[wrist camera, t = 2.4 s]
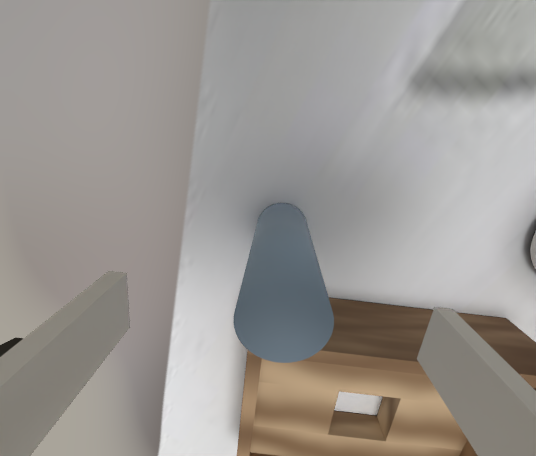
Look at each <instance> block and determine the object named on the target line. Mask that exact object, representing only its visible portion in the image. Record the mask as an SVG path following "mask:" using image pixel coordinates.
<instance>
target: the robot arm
mask: <svg viewBox="0 0 536 456" xmlns="http://www.w3.org/2000/svg"><path fill="white" fill-rule="evenodd" d="M129 328H130V319H129V302H128V286H127V273H123V272H114V271H108V272H107V273H106V274H104V275H103V276H102V277H101V278H99V279H98V280H97V281H95V282H94V283H93V284H92V285H91V286H89V287H88V288H87V289H85V290H84V291H83V292H82V293H80V294H79V295H78V296H77V297H75V298H74V299H73V300H72V301H70V302H69V303H68V304H67V305H65V306H64V307H63V308H61V309H60V310H59V311H58V312H56V313H55V314H54V315H53V316H51V317H50V318H49V319H48V320H46V321H45V322H44V323H43V324H41V325H40V326H39V327H38V328H36V329H35V330H34V331H32V332H31V333H30V334H29V335H28V336H26V337H25V338H24V339H23V338H14V339H12V340H10V341H8V342H6V343H4V344H2V345H0V456H30V455H31V454H32V453H33V452H34V450H35V449H36V448H37V447H38V445H39V444H40V442H41V441H42V440H43V439H44V437H45V436H46V435H47V434H48V432H49V431H50V430H51V428H52V427H53V426H54V425H55V423H56V422H57V421H58V419H59V418H60V417H61V416H62V414H63V413H64V412H65V410H66V409H67V408H68V406H69V405H70V404H71V402H72V401H73V400H74V399H75V397H76V396H77V395H78V394H79V392H80V391H81V390H82V388H83V387H84V386H85V384H86V383H87V382H88V381H89V379H90V378H91V377H92V376H93V374H94V373H95V372H96V370H97V369H98V368H99V367H100V365H101V364H102V363H103V361H104V360H105V358H106V357H107V356H108V355H109V354H110V352H111V351H112V350H113V348H114V347H115V346H116V345H117V343H118V342H119V341H120V339H121V338H122V337H123V336H124V334H125V333H126V332H127V330H128V329H129ZM417 360H418V362H419V363H420V365H421V366H422V368H423V370H424V371H425V373H426V374H427V376H428V377H429V379H430V381H431V382H432V384H433V385H434V387H435V389H436V390H437V392H438V393H439V395H440V397H441V398H442V400H443V401H444V403H445V404H446V406H447V408H448V409H449V411H450V412H451V414H452V416H453V417H454V419H455V420H456V422H457V424H458V425H459V427H460V428H461V430H462V431H463V433H464V435H465V436H466V438H467V439H468V441H469V443H470V444H471V446H472V447H473V449H474V451H475V452H476V454H477V455H478V456H536V391H535V390H534V389H533V388H532V387H531V386H530V385H529V384H528V383H527V382H526V381H525V380H524V379H523V378H522V377H521V376H520V375H519V374H518V373H517V372H516V371H515V370H514V369H513V368H512V367H511V366H510V365H509V364H508V363H507V362H506V361H505V360H504V359H503V358H502V357H501V356H500V355H499V354H498V353H497V352H496V351H495V350H494V349H493V348H492V347H491V346H490V345H489V344H488V343H487V342H486V341H484V340H483V339H482V338H481V337H480V336H479V335H478V334H477V333H476V332H475V331H474V330H473V329H472V328H471V327H470V326H469V325H468V324H467V323H466V322H465V321H464V320H463V319H462V318H461V317H460V316H459V315H458V314H457V313H456V312H455V311H454V310H453V309H447V308H438V307H434V310H433V313H432V316H431V319H430V322H429V325H428V328H427V330H426V333H425V336H424V339H423V342H422V345H421V348H420V351H419V354H418V357H417Z"/></svg>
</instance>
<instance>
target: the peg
mask: <svg viewBox="0 0 536 456" xmlns="http://www.w3.org/2000/svg"><path fill="white" fill-rule="evenodd" d="M333 327H334V316H333V311H332V308H331V304H330V301H329V297H328V294H327V291H326V287H325V284H324V280H323V277H322V274H321V270H320V267H319V263H318V260H317V257H316V253H315V250H314V246H313V243H312V239H311V236H310V233H309V229H308V226H307V222H306V219H305V217H304V215H303V213H302V212H301V211H300V210H299V209H298V208H297V207H295V206H293V205H291V204H287V203H277V204H273V205H271V206H269V207H267V208H266V209H265V210H264V211H263V212H262V213H261V215H260V217H259V219H258V223H257V226H256V230H255V234H254V238H253V242H252V246H251V250H250V254H249V258H248V262H247V266H246V269H245V273H244V277H243V281H242V285H241V289H240V293H239V297H238V301H237V305H236V309H235V313H234V328H235V331H236V334H237V336H238V338H239V340H240V341H241V343H242V344H243V345H244V346H245V348H247V349H248V350H249V351H250V352H251V353H253V354H254V355H256V356H258V357H260V358H262V359H265V360H268V361H272V362H278V363H291V362H297V361H301V360H304V359H307V358H309V357H311V356H313V355H314V354H316V353H317V352H319V351H320V350H321V349H322V348H323V347H324V346H325V345H326V344H327V342H328V341H329V339H330V337H331V335H332V332H333Z"/></svg>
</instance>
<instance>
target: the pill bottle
mask: <svg viewBox="0 0 536 456" xmlns="http://www.w3.org/2000/svg"><path fill="white" fill-rule="evenodd" d="M530 252H531V259H532V263H533V265H534V267H535V269H536V232H535V234H534V237H533V239H532V243H531V248H530Z"/></svg>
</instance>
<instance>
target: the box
mask: <svg viewBox="0 0 536 456" xmlns="http://www.w3.org/2000/svg"><path fill="white" fill-rule="evenodd" d="M329 301H330V304H331V308H332V311H333V316H334V327H333V332H332V335H331V337H330V339H329V341H328V342H327V344H326V345H325V346H324V347H323V348H322V349H321V350H320V351H319V352H317V353H316V354H314V355H313V356H311V357H309V358H307V359H304V360H301V361H297V362H291V363H278V362H272V361H268V360H265V359H262V358H260V357H258V356H256V355H254V354H253V353H251V352H250V351H249V350H248V352H247V362H246V371H245V381H244V391H243V400H242V410H241V420H240V430H239V439H238V449H237V456H478V455H477V454H476V452H475V451H474V449H473V447H472V446H471V444H470V443H469V441H468V439H467V438H466V436H465V435H464V433H463V431H462V430H461V428H460V427H459V425H458V424H457V422H456V420H455V419H454V417H453V416H452V414H451V412H450V411H449V409H448V408H447V406H446V404H445V403H444V401H443V400H442V398H441V397H440V395H439V393H438V392H437V390H436V389H435V387H434V385H433V384H432V382H431V381H430V379H429V377H428V376H427V374H426V373H425V371H424V370H423V368H422V366H421V365H420V363H419V362H418V360H417V357H418V354H419V351H420V348H421V345H422V342H423V339H424V336H425V333H426V330H427V328H428V325H429V322H430V319H431V316H432V313H433V310H430V309H421V308H413V307H404V306H395V305H387V304H378V303H370V302H361V301H352V300H344V299H335V298H329ZM457 314H458V315H459V316H460V317H461V318H462V319H463V320H464V321H465V322H466V323H467V324H468V325H469V326H470V327H471V328H472V329H473V330H474V331H475V332H476V333H477V334H478V335H479V336H480V337H481V338H482V339H483V340H484V341H486V342H487V343H488V344H489V345H490V346H491V347H492V348H493V349H494V350H495V351H496V352H497V353H498V354H499V355H500V356H501V357H502V358H503V359H504V360H505V361H506V362H507V363H508V364H509V365H510V366H511V367H512V368H513V369H514V370H515V371H516V372H517V373H518V374H519V375H520V376H521V377H522V378H523V379H524V380H525V381H526V382H527V383H528V384H529V385H530V386H531V387H532V388H533V389H534V390H535V391H536V342H535V341H533V340H532V339H531V338H530V337H528V336H527V335H526V334H525V333H524V332H522V331H521V330H520V329H519V328H517V327H516V326H515V325H514V324H513V323H511V322H510V321H509V320H508V319H506V318H499V317H490V316H482V315H473V314H464V313H457ZM339 391H341V392H350V393H358V394H366V395H375V396H383V399H382V402H381V405H380V408H379V411H378V414H377V416H373V415H365V414H356V413H348V412H339V411H334V408H335V405H336V401H337V397H338V393H339Z"/></svg>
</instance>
